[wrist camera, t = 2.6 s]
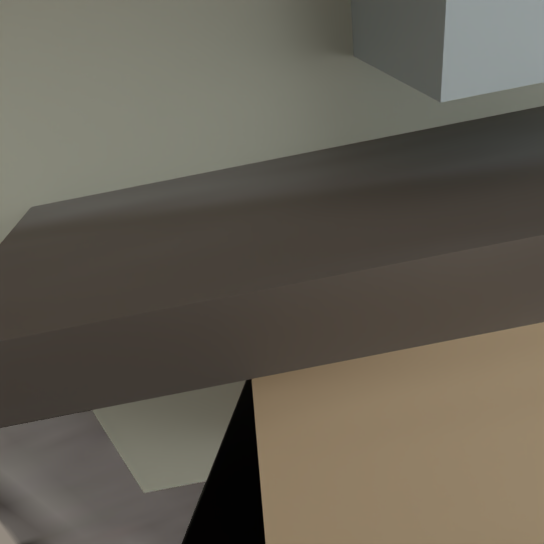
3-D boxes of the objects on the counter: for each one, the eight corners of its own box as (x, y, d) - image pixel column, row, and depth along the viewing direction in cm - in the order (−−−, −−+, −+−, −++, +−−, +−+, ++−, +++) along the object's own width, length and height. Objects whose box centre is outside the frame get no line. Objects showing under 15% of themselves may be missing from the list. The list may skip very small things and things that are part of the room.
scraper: (543, 382, 11) (806, 703, 6) (163, 455, 11) (119, 832, 6) (627, 89, 7) (1600, 337, 2) (31, 207, 7) (-404, 722, 2)
